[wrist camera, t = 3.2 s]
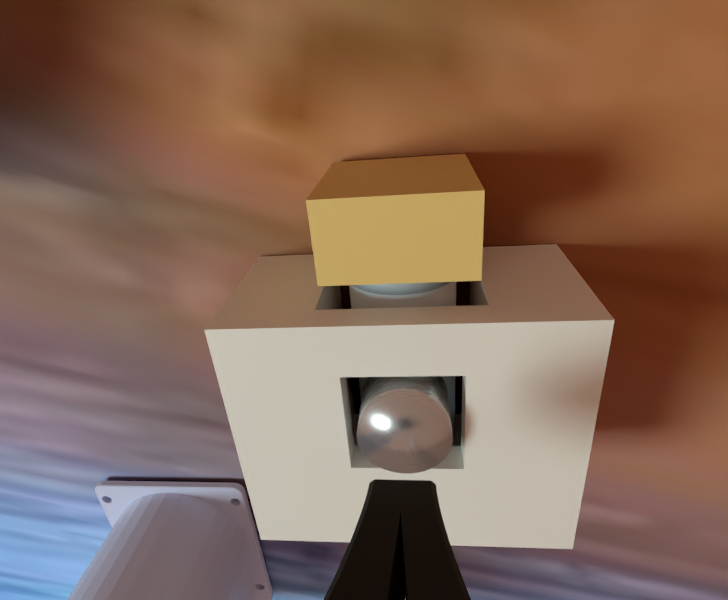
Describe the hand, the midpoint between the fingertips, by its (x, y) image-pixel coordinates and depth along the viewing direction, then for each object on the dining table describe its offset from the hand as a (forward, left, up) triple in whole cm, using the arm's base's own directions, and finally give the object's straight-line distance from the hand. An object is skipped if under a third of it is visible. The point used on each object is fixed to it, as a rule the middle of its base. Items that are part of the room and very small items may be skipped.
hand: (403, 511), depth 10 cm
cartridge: (+1, 0, -9) cm, 9 cm away
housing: (-2, 0, -9) cm, 10 cm away
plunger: (-1, 0, -5) cm, 5 cm away
